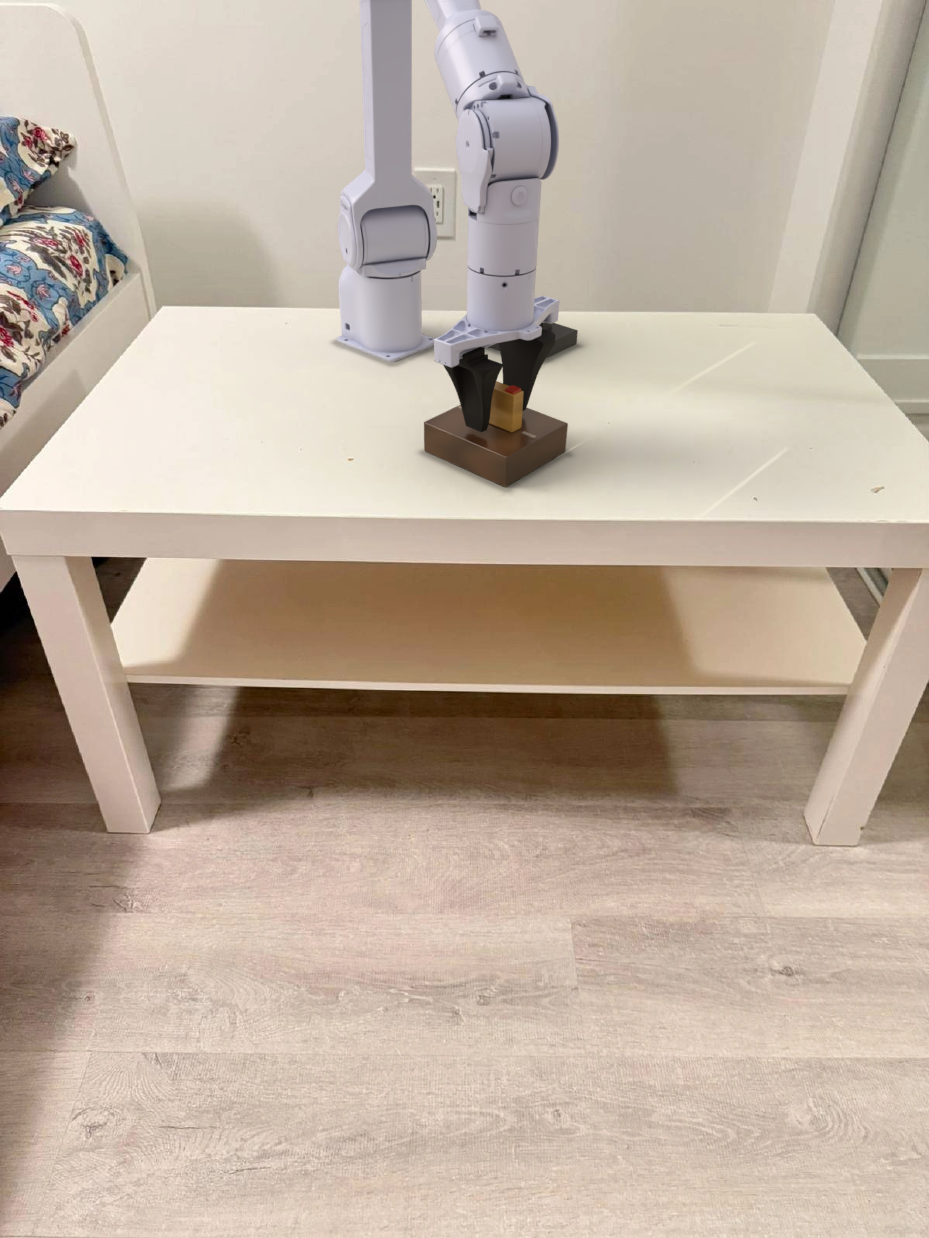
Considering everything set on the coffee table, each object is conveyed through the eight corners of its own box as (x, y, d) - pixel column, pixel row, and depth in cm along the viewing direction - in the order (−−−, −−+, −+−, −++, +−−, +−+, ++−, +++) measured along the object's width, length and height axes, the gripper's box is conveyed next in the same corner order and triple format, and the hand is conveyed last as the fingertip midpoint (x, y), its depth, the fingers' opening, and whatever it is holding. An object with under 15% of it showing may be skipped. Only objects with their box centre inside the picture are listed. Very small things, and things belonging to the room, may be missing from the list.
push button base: (469, 340, 105) (469, 311, 102) (511, 323, 109) (512, 294, 107) (535, 363, 100) (537, 333, 97) (576, 344, 104) (579, 314, 102)
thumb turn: (470, 416, 82) (471, 377, 80) (480, 411, 83) (481, 372, 81) (512, 433, 80) (514, 393, 77) (521, 427, 80) (524, 388, 78)
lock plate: (423, 451, 83) (423, 420, 81) (485, 419, 88) (486, 390, 86) (505, 487, 78) (506, 456, 76) (565, 452, 83) (568, 421, 81)
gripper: (481, 299, 66) (477, 459, 75) (592, 256, 75) (577, 405, 83) (414, 278, 70) (417, 433, 78) (527, 239, 78) (519, 383, 87)
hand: (496, 417), depth 81 cm, fingers open, 5 cm apart
